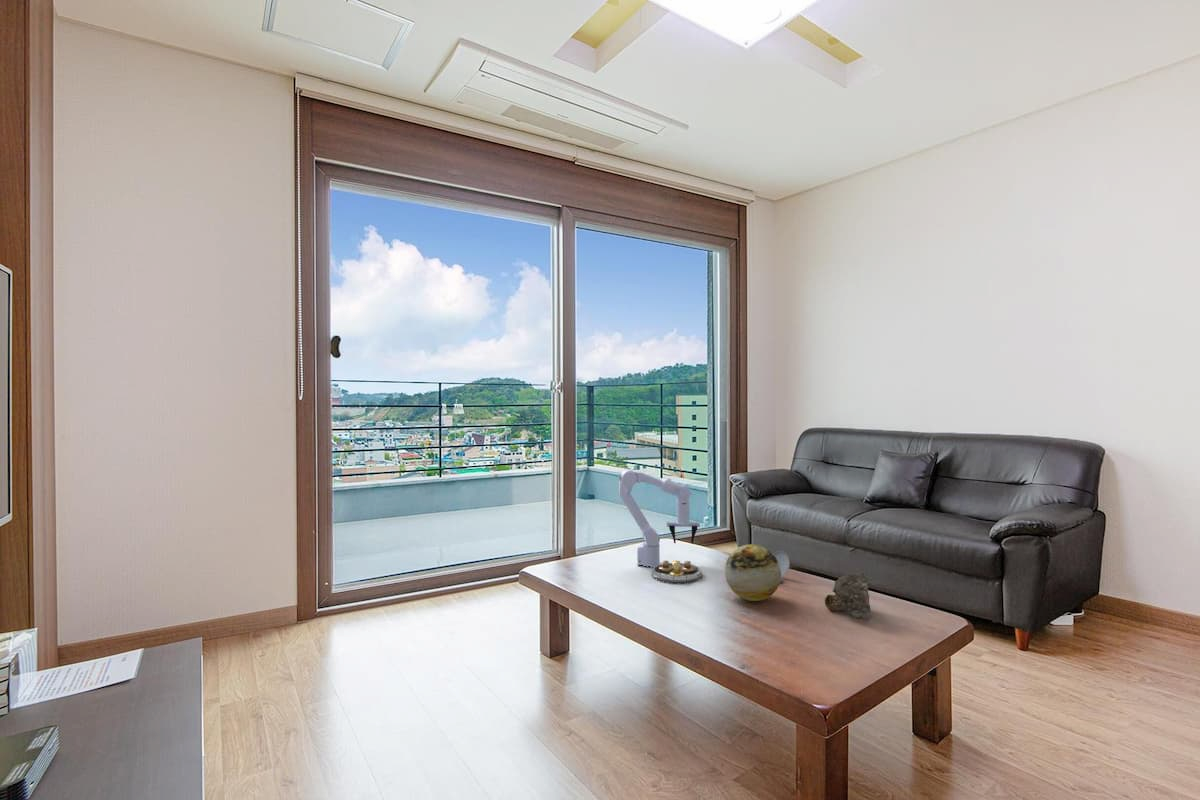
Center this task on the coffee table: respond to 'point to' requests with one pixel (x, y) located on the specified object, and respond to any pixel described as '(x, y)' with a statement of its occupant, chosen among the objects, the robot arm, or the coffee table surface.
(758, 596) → the decorative sphere
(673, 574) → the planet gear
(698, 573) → the carrier
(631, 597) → the coffee table surface
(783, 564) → the pocket watch
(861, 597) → the rock
